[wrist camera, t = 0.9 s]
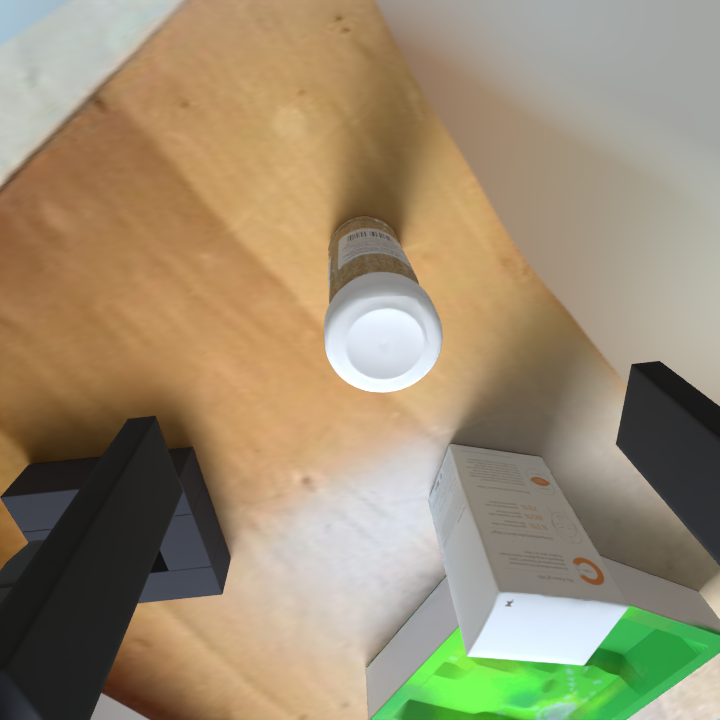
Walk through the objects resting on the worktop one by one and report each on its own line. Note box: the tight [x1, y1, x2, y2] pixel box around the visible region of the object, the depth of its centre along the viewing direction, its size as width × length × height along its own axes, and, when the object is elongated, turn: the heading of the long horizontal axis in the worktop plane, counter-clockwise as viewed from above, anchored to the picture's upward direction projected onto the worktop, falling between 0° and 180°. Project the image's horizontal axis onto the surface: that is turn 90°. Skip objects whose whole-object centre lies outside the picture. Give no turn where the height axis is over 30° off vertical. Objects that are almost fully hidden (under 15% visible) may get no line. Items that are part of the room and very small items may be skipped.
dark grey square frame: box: [0, 447, 231, 603], centre depth 37 cm, size 13×13×4 cm
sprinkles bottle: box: [324, 216, 443, 392], centre depth 23 cm, size 5×5×13 cm
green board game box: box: [366, 556, 720, 720], centre depth 47 cm, size 25×25×5 cm
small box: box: [429, 444, 629, 665], centre depth 33 cm, size 8×6×13 cm
